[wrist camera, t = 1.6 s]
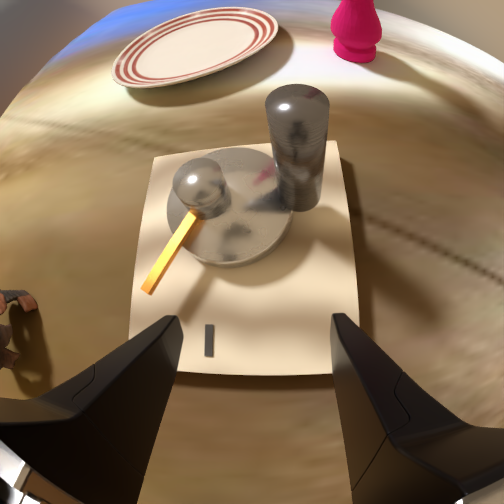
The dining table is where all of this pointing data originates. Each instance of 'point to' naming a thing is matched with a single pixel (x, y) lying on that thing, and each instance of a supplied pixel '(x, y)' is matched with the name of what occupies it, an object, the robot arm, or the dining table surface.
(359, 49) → the pepper mill
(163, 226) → the stand
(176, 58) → the dinner plate
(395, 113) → the dining table surface
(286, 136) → the shiny grey rounded pieces
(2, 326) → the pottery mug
